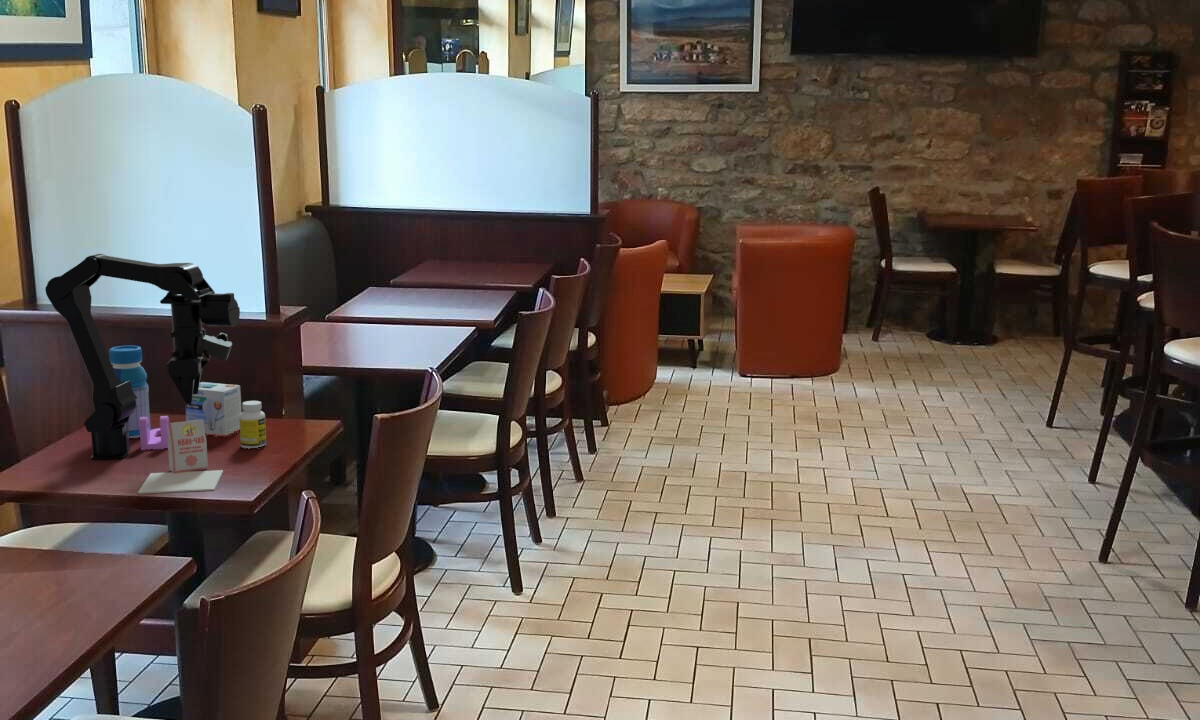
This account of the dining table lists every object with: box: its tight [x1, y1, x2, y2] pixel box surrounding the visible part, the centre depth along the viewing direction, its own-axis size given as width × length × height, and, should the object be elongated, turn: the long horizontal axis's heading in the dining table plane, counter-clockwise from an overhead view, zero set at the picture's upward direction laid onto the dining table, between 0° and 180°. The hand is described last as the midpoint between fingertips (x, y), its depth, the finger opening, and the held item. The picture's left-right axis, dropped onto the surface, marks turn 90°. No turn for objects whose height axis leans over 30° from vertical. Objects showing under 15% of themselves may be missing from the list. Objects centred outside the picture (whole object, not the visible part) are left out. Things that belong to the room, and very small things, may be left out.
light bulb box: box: [184, 381, 243, 435], centre depth 261 cm, size 11×7×11 cm, turn 73°
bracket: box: [139, 415, 170, 451], centre depth 253 cm, size 13×6×7 cm, turn 13°
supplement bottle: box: [239, 400, 267, 450], centre depth 250 cm, size 5×5×10 cm
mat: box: [137, 469, 224, 495], centre depth 226 cm, size 14×12×1 cm
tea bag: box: [167, 419, 209, 473], centre depth 233 cm, size 4×7×10 cm, turn 122°
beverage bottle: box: [108, 344, 152, 439], centre depth 257 cm, size 8×8×20 cm
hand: (192, 398), depth 239 cm, fingers open, 8 cm apart
